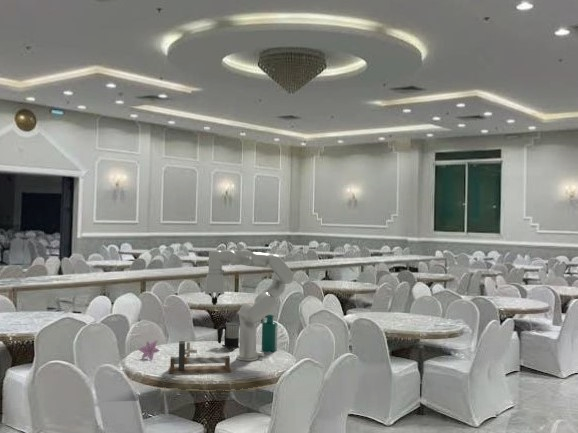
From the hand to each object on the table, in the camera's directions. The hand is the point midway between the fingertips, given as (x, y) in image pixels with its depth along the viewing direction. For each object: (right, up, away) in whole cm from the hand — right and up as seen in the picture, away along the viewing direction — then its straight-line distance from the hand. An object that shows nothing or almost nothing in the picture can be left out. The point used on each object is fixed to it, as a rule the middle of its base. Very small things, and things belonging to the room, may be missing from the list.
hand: (214, 304), depth 346 cm
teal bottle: (+29, -33, +31) cm, 54 cm away
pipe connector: (-15, -32, +3) cm, 36 cm away
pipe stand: (-5, -32, -20) cm, 38 cm away
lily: (-38, -32, +5) cm, 50 cm away
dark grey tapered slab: (-15, -30, -22) cm, 40 cm away
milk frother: (+6, -32, +34) cm, 47 cm away
